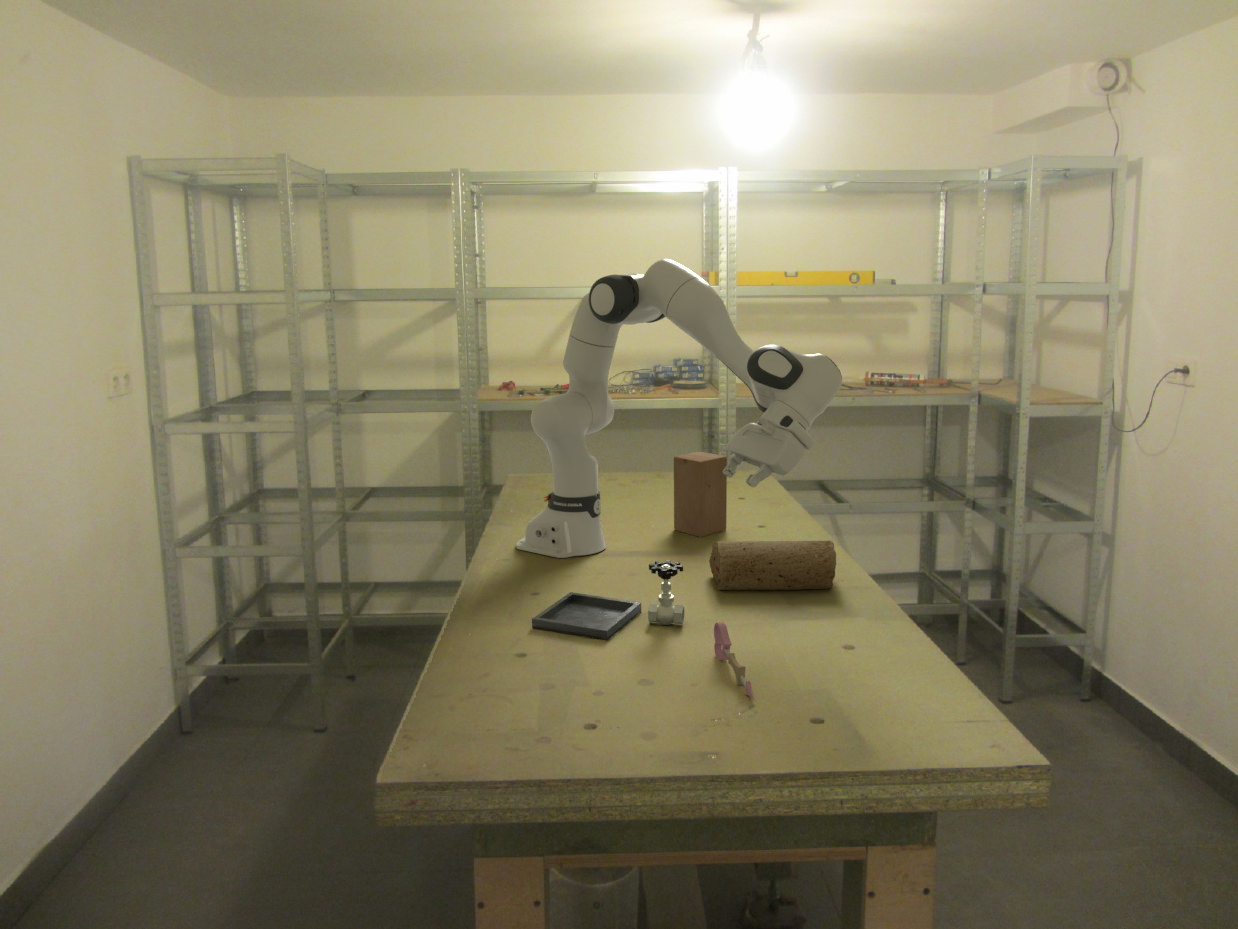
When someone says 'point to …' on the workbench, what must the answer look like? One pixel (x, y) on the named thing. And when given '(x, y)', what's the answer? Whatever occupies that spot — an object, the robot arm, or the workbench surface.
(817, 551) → the core sample
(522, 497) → the workbench surface
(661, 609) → the valve
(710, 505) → the wooden block
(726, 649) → the decorative key
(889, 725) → the workbench surface
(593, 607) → the dark gray tray
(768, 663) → the workbench surface
